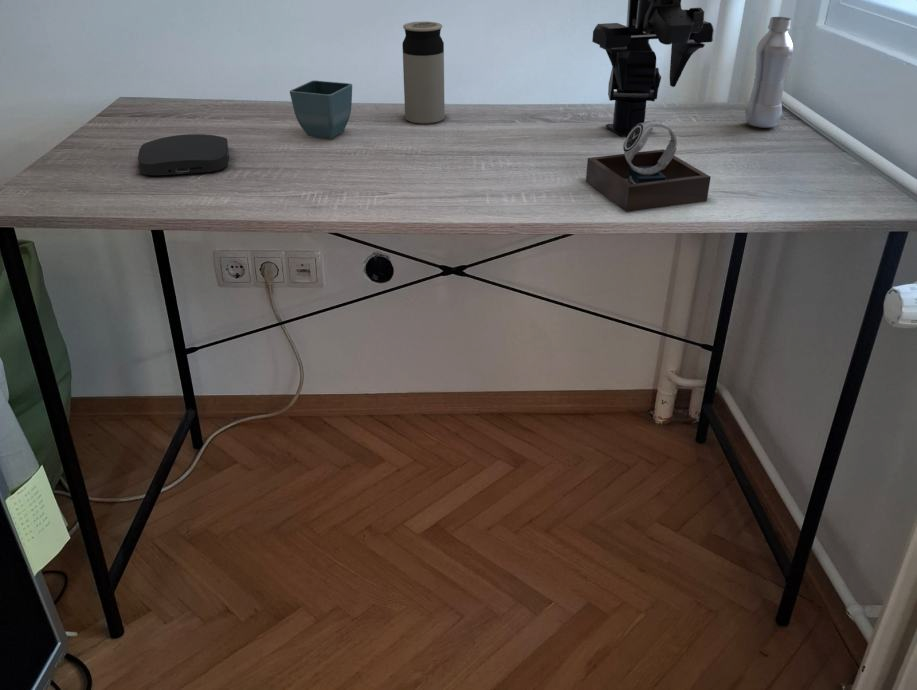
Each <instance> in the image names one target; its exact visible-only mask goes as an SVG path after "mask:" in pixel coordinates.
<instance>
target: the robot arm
mask: <svg viewBox="0 0 917 690" xmlns="http://www.w3.org/2000/svg"><path fill="white" fill-rule="evenodd" d="M714 35H715V28H714V26H713V24H712V22H709V21H706V20H705V11H704V10H703V8H702V7H690V8H688V9H682V0H628V1H627V13H626V25H623V24H621V23H619V22H609V23H607V22H606V23H597V24H596V26H595V27H594V29H593V30H592V41H591V42H592V43H594V44H596V45H598V46H599V48H600V49H603V50H605V52H606V54H607V57H608V59H609V62H610V64H611V72H610V76H609V80H608V88H607V89H608V91H607V97H608V100H609V101H611V102H612V101H614V109H613V111H614V112H613V119H612V123H606V124H605V128H607V129H608V130H609V131H611V132H613V133H615V134H616V135H618V136H621V137H624V136H628V134H629V132H630V131H631V130H632V129H633V128H634V127H635V126H636V125H637V124H639V123H643V122H645V119H646V113H647V109H646V108H647V102H656V100H657V99H658V93H659V88H660V84H661V82H662V75H661V74H660V70H659V69H660V68H659V67H657V54H656V53H655V51H654V49H653V48H652V46H651V44H650V40H657V41H658V42H659V43H660V44H662V45H666V46H668V45H671V50H670V62H669V63H670V64H669V86H670V87H672V88H675V87H676V85H677V83H678V82H679V80H680V77H681V76H682V73H683V71H684V69H685V68H686V65H687V63H688V62H689V61H690V58H691V57H692V55H694V54H695V52H697V51H698V50H700V49H703V48H704V47H705V46H706V44H705V43H712V42H714Z"/></svg>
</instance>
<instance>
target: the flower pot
mask: <svg viewBox="0 0 917 690" xmlns="http://www.w3.org/2000/svg"><path fill="white" fill-rule="evenodd" d="M289 95H290V100H291V102H292V108H293V112H294V115H295V117H296V120H297V122H298V124H299V126H300V127H301V129H302V131H303V132H304V133H305V134H306V135H307V136H308V137H312V138H314V137H315V138H322V139H330V140H331V139H333V138H335V137H336V136H337V135H340V134H342V133H343V132H344V131H345V129H346V127H347V125H348V123H349V120H350V117H351V113H352V106H353V105H352V102H353V84H352V83H349V82H339V81H337V82H335V81H325V80H324V81H323V80H310V81H308V82H306V83H304V84H301V85H300V86H297V87H295V88H293V89H290V91H289Z"/></svg>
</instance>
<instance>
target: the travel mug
mask: <svg viewBox="0 0 917 690" xmlns="http://www.w3.org/2000/svg"><path fill="white" fill-rule="evenodd" d="M402 28H403V30H404V33H405V35H404V36H405V37H404V39H403V41H402V64H403V65H402V69H403V71H402V72H403V73H402V74H403V96H404V97H403V98H404V99H403V101H404V118H405V120H406V121H408V122H410V123H413V124H419V125H430V124H436V123H439V122H441V121H443V120H444V119H445V113H446V112H445V42H444V40H443V38H442V36H441V32H442V31H441V30H442V28H443V24H441V23H440V22H436V21H412V22H411V21H410V22H408V23H404V24H403V26H402Z"/></svg>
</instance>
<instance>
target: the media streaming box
mask: <svg viewBox="0 0 917 690" xmlns="http://www.w3.org/2000/svg"><path fill="white" fill-rule="evenodd" d="M229 158H230V149H229V144H228V138H226V137H224V136H219V135H215V134H200V133H190V134H189V133H187V134H178V135H177V134H176V135H171V136H170V135H169V136H165V137H160V138H157V139H153V140H149V141H147V142H144V143H143V144H141V146H140V147H139V150H138V153H137V162H138V167H139V171H140V173H142V174H144V175H146V176H147V175H148V176H172V175H186V174H197V173H198V174H200V173H210V172H211V173H212V172H216V171H219V170H222V169H224V168H225V167H227V166H228V163H229Z"/></svg>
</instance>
